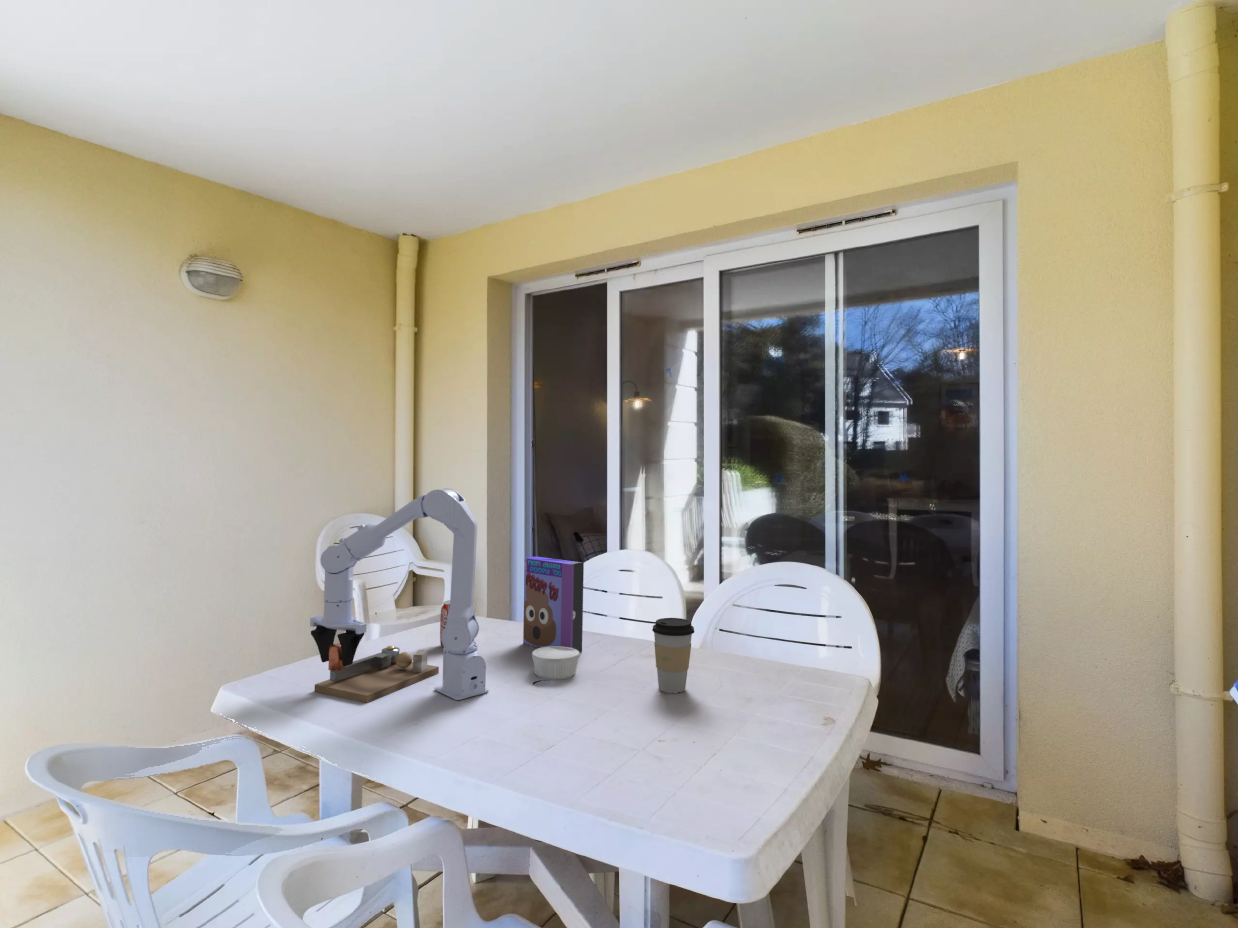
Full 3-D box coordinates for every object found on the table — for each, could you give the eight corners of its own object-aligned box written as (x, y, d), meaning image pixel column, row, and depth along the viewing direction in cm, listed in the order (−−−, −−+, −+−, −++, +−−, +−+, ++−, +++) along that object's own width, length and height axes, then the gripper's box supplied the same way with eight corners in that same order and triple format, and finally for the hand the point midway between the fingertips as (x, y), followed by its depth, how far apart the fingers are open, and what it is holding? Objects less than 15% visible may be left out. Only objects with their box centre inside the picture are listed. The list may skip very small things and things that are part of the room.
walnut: (403, 664, 152) (403, 649, 152) (415, 666, 150) (415, 651, 150) (392, 668, 149) (392, 653, 149) (404, 670, 147) (404, 655, 147)
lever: (390, 658, 157) (390, 626, 157) (404, 661, 155) (405, 628, 155) (323, 681, 139) (324, 645, 139) (338, 684, 137) (339, 648, 137)
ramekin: (582, 668, 158) (582, 646, 158) (574, 682, 147) (575, 659, 147) (537, 665, 159) (538, 644, 159) (526, 680, 148) (527, 657, 148)
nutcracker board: (389, 664, 158) (390, 641, 158) (438, 673, 152) (439, 649, 152) (314, 691, 138) (315, 665, 138) (367, 702, 132) (367, 675, 132)
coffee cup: (644, 691, 142) (645, 623, 142) (661, 679, 150) (662, 615, 150) (684, 699, 137) (685, 628, 137) (699, 686, 146) (700, 620, 146)
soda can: (462, 650, 172) (463, 604, 172) (436, 649, 172) (437, 604, 172) (469, 643, 179) (470, 599, 179) (444, 642, 179) (445, 599, 179)
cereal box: (523, 643, 179) (524, 557, 179) (535, 640, 183) (537, 555, 183) (570, 655, 169) (571, 563, 169) (582, 651, 172) (583, 561, 173)
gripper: (377, 600, 140) (376, 662, 140) (329, 593, 146) (327, 653, 146) (352, 605, 134) (350, 671, 134) (302, 599, 140) (301, 661, 140)
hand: (336, 662), depth 139 cm, fingers open, 6 cm apart
